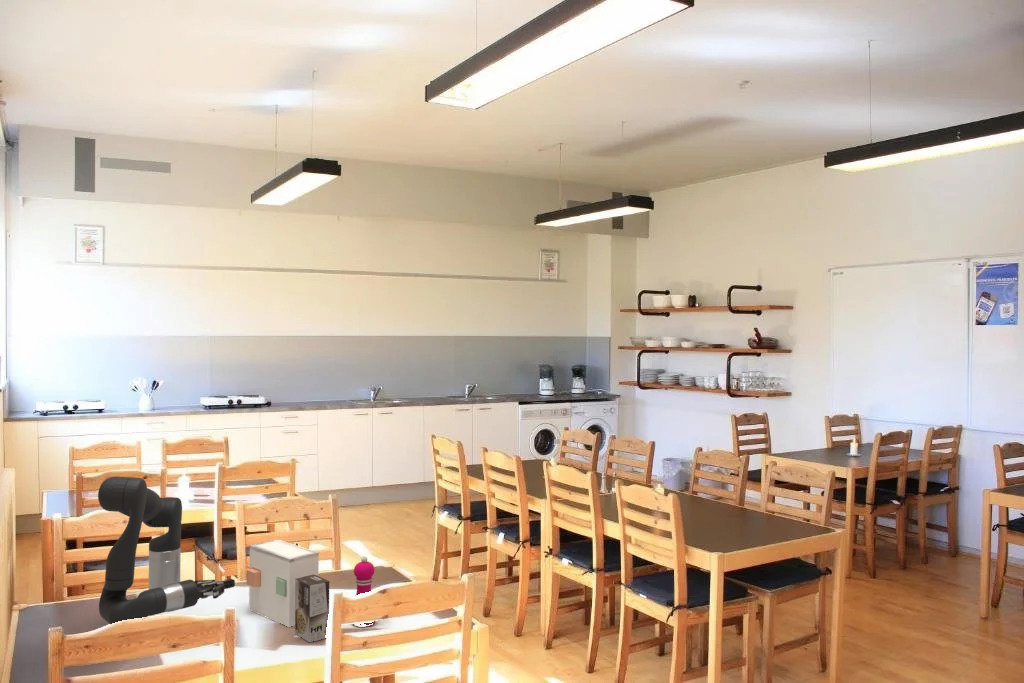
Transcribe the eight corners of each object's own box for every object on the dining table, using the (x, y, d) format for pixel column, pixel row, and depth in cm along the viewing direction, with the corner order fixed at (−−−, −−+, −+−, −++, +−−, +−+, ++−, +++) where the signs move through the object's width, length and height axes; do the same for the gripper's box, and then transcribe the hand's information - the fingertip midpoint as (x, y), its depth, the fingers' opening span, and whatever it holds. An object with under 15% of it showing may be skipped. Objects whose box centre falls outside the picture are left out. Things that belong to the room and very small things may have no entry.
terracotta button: (246, 584, 250) (246, 569, 250) (258, 581, 253) (258, 567, 253) (254, 587, 247) (254, 572, 247) (266, 584, 250) (266, 570, 250)
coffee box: (329, 637, 231) (330, 581, 230) (309, 643, 226) (309, 585, 226) (314, 628, 238) (315, 573, 237) (294, 633, 233) (294, 577, 233)
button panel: (249, 609, 253) (249, 545, 252) (277, 601, 260) (278, 539, 260) (289, 627, 238) (289, 559, 238) (318, 618, 245) (318, 552, 245)
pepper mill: (365, 617, 247) (365, 551, 247) (381, 623, 242) (381, 556, 242) (346, 624, 241) (346, 556, 241) (362, 630, 237) (362, 561, 237)
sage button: (275, 593, 242) (276, 578, 242) (287, 590, 245) (287, 575, 244) (284, 596, 239) (284, 581, 239) (296, 593, 242) (296, 578, 242)
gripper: (188, 588, 227) (245, 574, 240) (166, 578, 236) (222, 565, 249) (188, 615, 227) (244, 600, 240) (166, 603, 236) (222, 590, 249)
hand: (233, 582), depth 244 cm, fingers closed
